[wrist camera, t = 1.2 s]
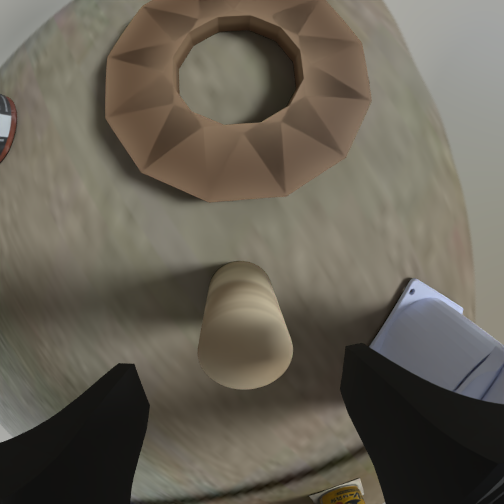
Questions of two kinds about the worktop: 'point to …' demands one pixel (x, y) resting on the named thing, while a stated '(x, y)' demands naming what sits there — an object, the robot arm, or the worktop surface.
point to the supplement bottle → (6, 124)
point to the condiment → (341, 494)
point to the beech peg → (243, 329)
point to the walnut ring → (236, 135)
